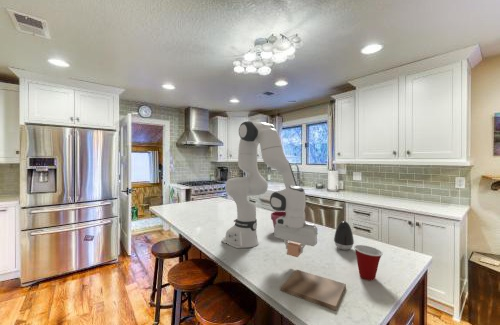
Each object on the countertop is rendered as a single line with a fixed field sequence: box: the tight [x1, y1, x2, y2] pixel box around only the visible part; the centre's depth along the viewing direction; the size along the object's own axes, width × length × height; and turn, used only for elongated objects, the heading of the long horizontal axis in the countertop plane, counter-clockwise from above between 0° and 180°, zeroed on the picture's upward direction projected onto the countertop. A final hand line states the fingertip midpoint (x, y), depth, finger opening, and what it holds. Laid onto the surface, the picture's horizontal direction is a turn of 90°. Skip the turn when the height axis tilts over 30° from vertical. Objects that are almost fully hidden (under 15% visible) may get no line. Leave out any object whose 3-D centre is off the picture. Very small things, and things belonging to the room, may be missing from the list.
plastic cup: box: [353, 244, 384, 281], centre depth 95 cm, size 11×11×12 cm
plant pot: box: [270, 211, 286, 228], centre depth 153 cm, size 14×14×13 cm
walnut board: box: [280, 269, 347, 312], centre depth 86 cm, size 20×16×2 cm
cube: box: [286, 241, 302, 258], centre depth 105 cm, size 5×5×5 cm
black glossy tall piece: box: [333, 220, 355, 251], centre depth 126 cm, size 10×10×15 cm
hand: (294, 250), depth 105 cm, fingers closed on cube, 5 cm apart
